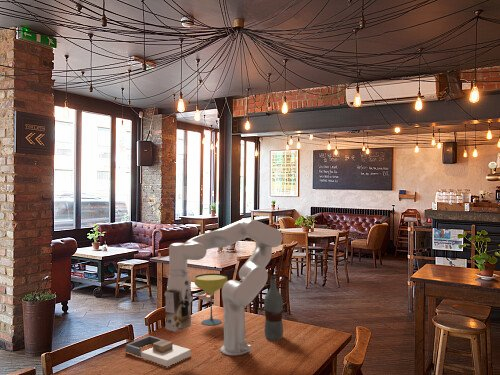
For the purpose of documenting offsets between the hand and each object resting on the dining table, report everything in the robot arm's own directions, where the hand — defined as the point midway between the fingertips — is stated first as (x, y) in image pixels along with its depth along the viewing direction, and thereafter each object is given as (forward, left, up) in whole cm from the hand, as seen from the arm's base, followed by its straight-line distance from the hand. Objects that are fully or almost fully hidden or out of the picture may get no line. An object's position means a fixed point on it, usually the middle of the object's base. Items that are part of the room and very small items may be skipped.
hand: (178, 314), depth 180 cm
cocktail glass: (+23, -48, -20) cm, 57 cm away
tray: (+21, 0, -20) cm, 29 cm away
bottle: (-18, -47, -20) cm, 54 cm away
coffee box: (0, 0, -6) cm, 6 cm away
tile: (+10, 0, -17) cm, 20 cm away
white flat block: (+8, 0, -20) cm, 22 cm away
